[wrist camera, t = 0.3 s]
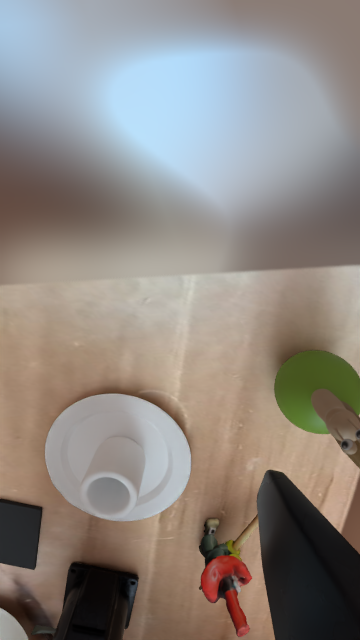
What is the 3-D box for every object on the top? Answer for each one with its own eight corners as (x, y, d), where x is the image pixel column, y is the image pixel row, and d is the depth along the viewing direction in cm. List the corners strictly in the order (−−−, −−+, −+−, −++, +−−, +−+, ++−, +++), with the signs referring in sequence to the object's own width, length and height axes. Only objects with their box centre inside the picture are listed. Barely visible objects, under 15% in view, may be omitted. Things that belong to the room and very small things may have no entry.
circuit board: (-47, 645, 30) (-35, 631, 32) (14, 700, 29) (24, 684, 30) (-21, 588, 29) (-10, 576, 30) (44, 643, 28) (53, 628, 29)
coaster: (35, 566, 29) (34, 570, 28) (-37, 552, 28) (-40, 555, 28) (42, 507, 27) (41, 510, 27) (-35, 491, 27) (-38, 494, 27)
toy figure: (220, 465, 30) (274, 475, 25) (243, 486, 31) (300, 501, 25) (166, 576, 25) (219, 623, 19) (196, 599, 26) (255, 651, 20)
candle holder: (49, 505, 27) (23, 553, 23) (48, 381, 24) (17, 410, 20) (183, 521, 27) (182, 572, 22) (198, 397, 24) (200, 430, 20)
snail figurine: (299, 315, 22) (421, 394, 10) (354, 376, 23) (522, 511, 11) (242, 363, 23) (294, 483, 11) (296, 419, 24) (396, 584, 12)
